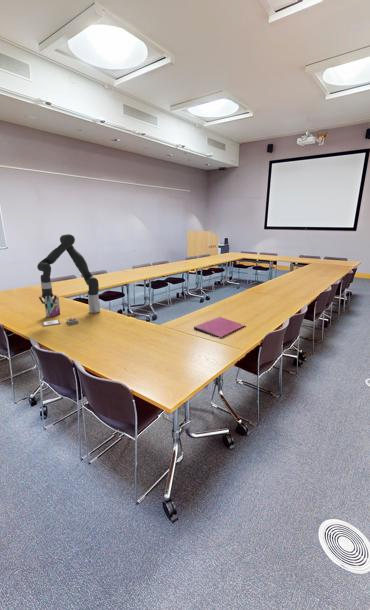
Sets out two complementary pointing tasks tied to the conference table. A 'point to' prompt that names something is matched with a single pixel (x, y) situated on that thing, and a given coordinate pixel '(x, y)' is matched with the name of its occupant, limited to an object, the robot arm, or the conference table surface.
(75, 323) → the button housing
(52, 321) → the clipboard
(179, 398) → the conference table surface
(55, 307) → the candy bar box
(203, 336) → the conference table surface
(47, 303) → the marker
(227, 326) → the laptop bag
